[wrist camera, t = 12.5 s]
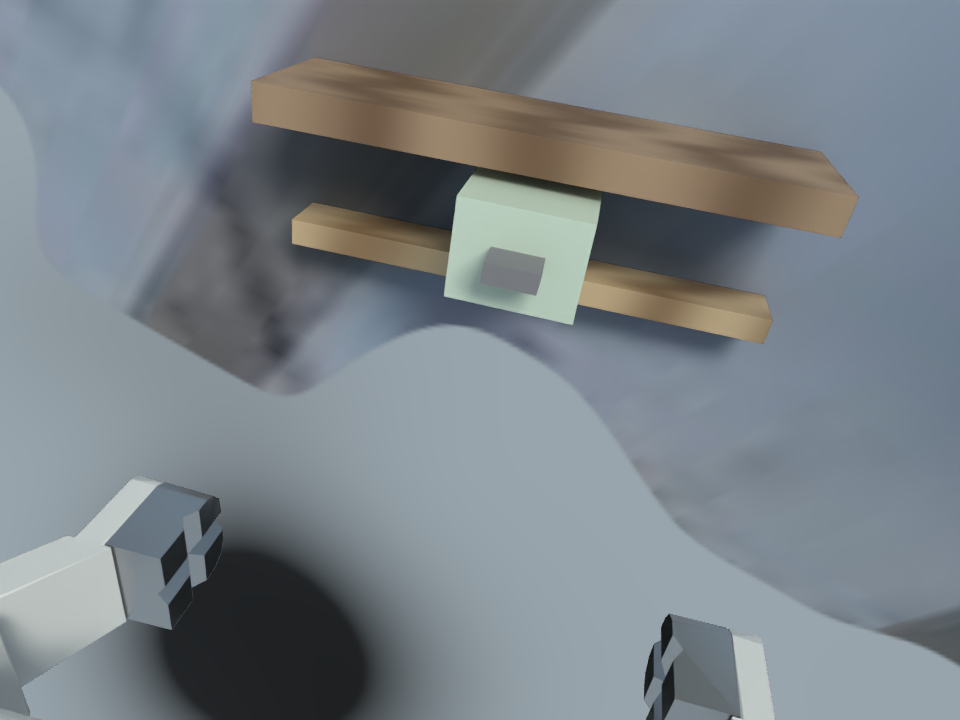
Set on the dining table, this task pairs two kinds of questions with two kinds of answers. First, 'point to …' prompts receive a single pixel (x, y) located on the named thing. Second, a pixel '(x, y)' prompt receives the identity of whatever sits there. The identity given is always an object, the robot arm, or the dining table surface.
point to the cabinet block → (521, 244)
